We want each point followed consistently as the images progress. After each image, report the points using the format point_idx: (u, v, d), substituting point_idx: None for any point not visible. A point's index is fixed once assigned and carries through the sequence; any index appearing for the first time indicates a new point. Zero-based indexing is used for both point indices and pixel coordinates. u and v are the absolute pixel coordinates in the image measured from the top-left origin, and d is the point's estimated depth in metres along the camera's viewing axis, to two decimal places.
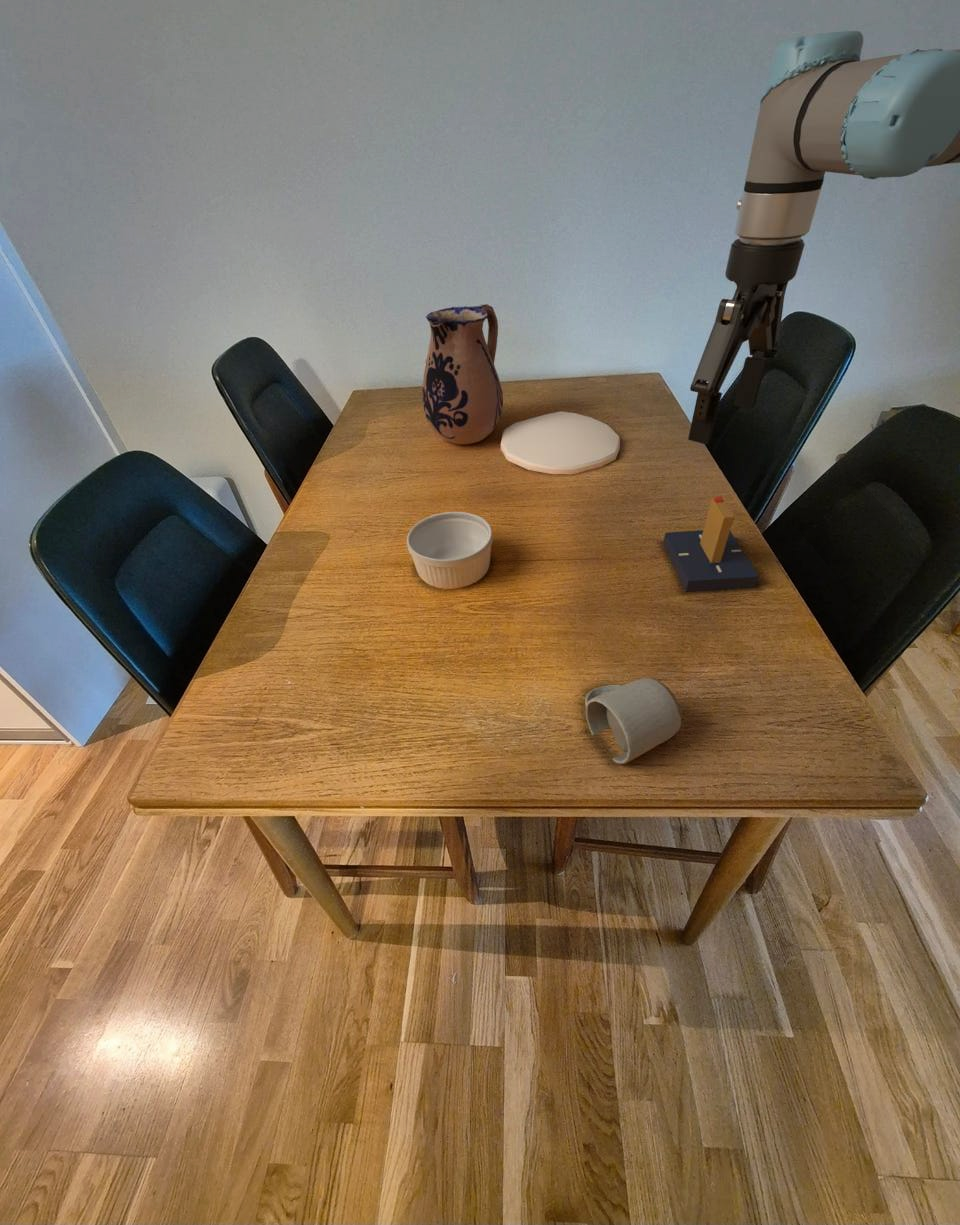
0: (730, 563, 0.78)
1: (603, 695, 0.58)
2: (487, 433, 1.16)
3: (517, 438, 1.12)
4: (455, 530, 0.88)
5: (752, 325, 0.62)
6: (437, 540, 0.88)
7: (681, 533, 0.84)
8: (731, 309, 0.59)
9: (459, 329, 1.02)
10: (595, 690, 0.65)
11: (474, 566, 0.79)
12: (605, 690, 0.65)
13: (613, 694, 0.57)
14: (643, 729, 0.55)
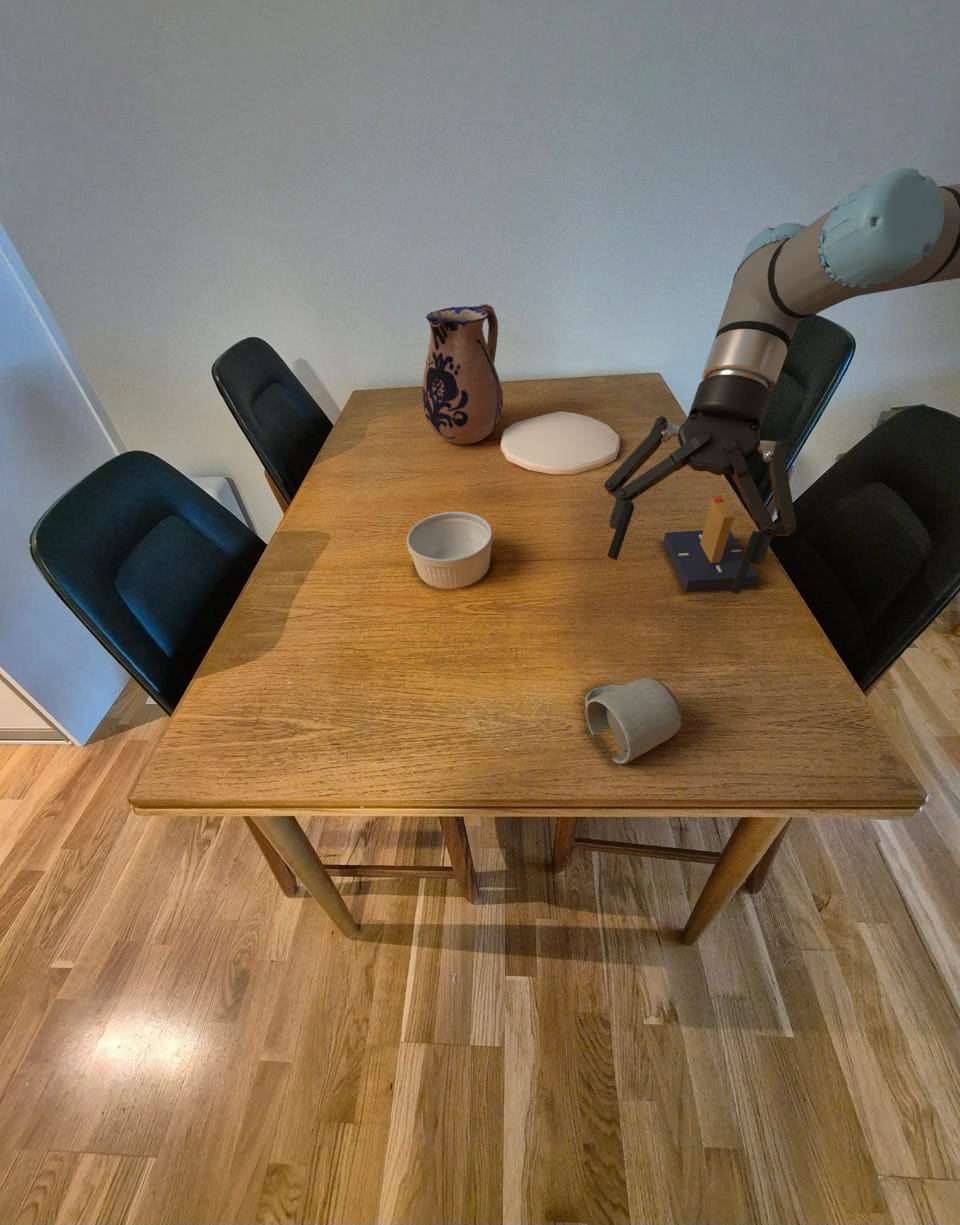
0: (730, 563, 0.78)
1: (603, 695, 0.58)
2: (487, 433, 1.16)
3: (518, 438, 1.12)
4: (455, 530, 0.88)
5: (683, 448, 0.58)
6: (437, 540, 0.88)
7: (681, 533, 0.84)
8: None
9: (459, 329, 1.02)
10: (595, 690, 0.65)
11: (474, 566, 0.79)
12: (605, 690, 0.65)
13: (613, 694, 0.57)
14: (643, 729, 0.55)
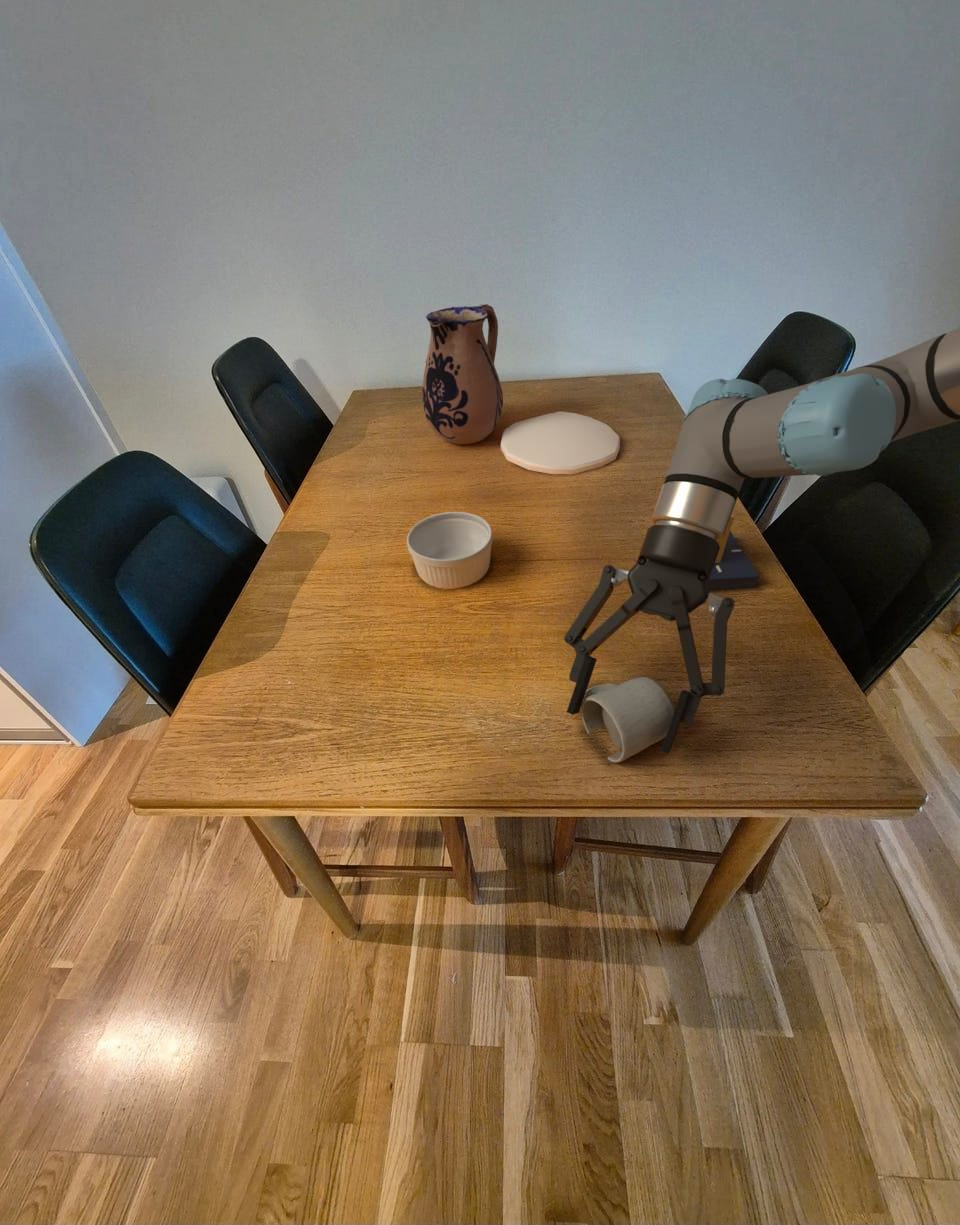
0: (730, 563, 0.78)
1: (598, 694, 0.58)
2: (487, 433, 1.16)
3: (518, 438, 1.12)
4: (455, 530, 0.88)
5: (632, 598, 0.56)
6: (437, 540, 0.88)
7: None
8: None
9: (459, 329, 1.02)
10: (591, 689, 0.65)
11: (474, 566, 0.79)
12: (601, 689, 0.65)
13: (608, 693, 0.57)
14: (638, 728, 0.55)
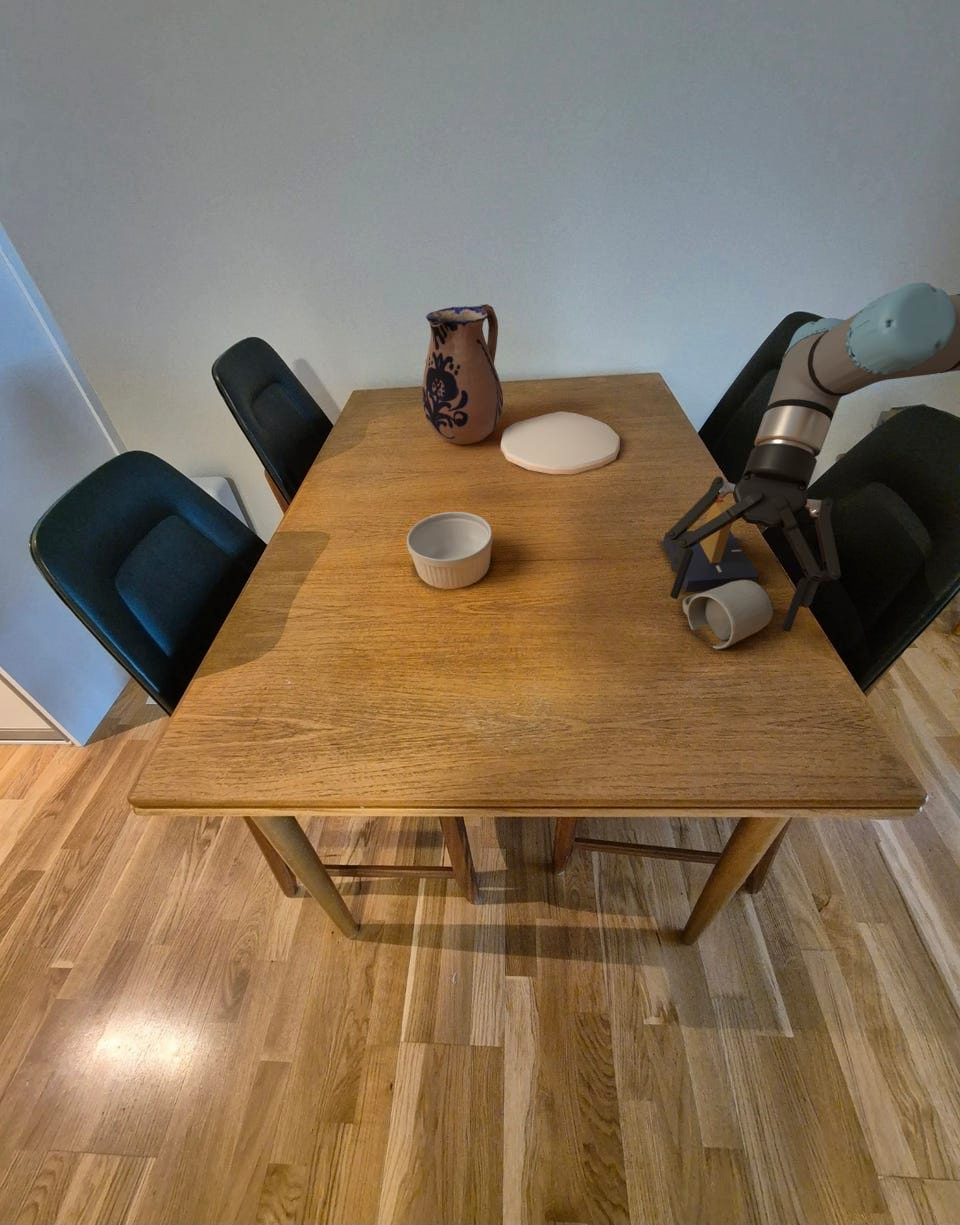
0: (730, 563, 0.78)
1: (706, 591, 0.69)
2: (487, 433, 1.16)
3: (518, 438, 1.12)
4: (455, 530, 0.88)
5: (738, 504, 0.67)
6: (437, 540, 0.88)
7: None
8: None
9: (459, 329, 1.02)
10: (690, 597, 0.76)
11: (474, 566, 0.79)
12: None
13: (715, 590, 0.68)
14: (744, 615, 0.66)
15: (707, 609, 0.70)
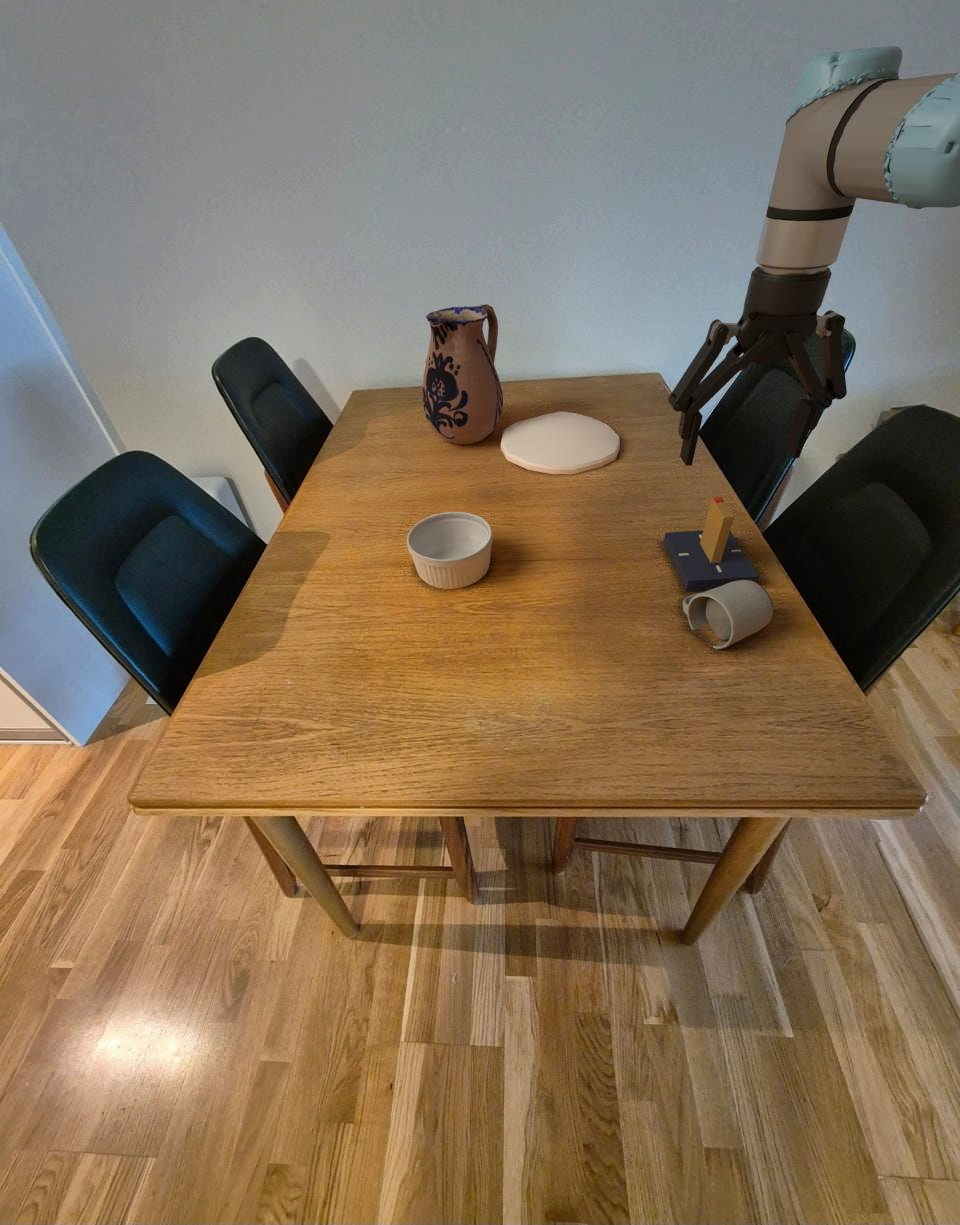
0: (730, 563, 0.78)
1: (706, 591, 0.69)
2: (487, 433, 1.16)
3: (518, 438, 1.12)
4: (455, 530, 0.88)
5: (748, 355, 0.59)
6: (437, 540, 0.88)
7: (681, 533, 0.84)
8: (714, 331, 0.59)
9: (459, 329, 1.02)
10: (690, 597, 0.76)
11: (474, 566, 0.79)
12: None
13: (715, 590, 0.68)
14: (744, 615, 0.66)
15: (707, 609, 0.70)
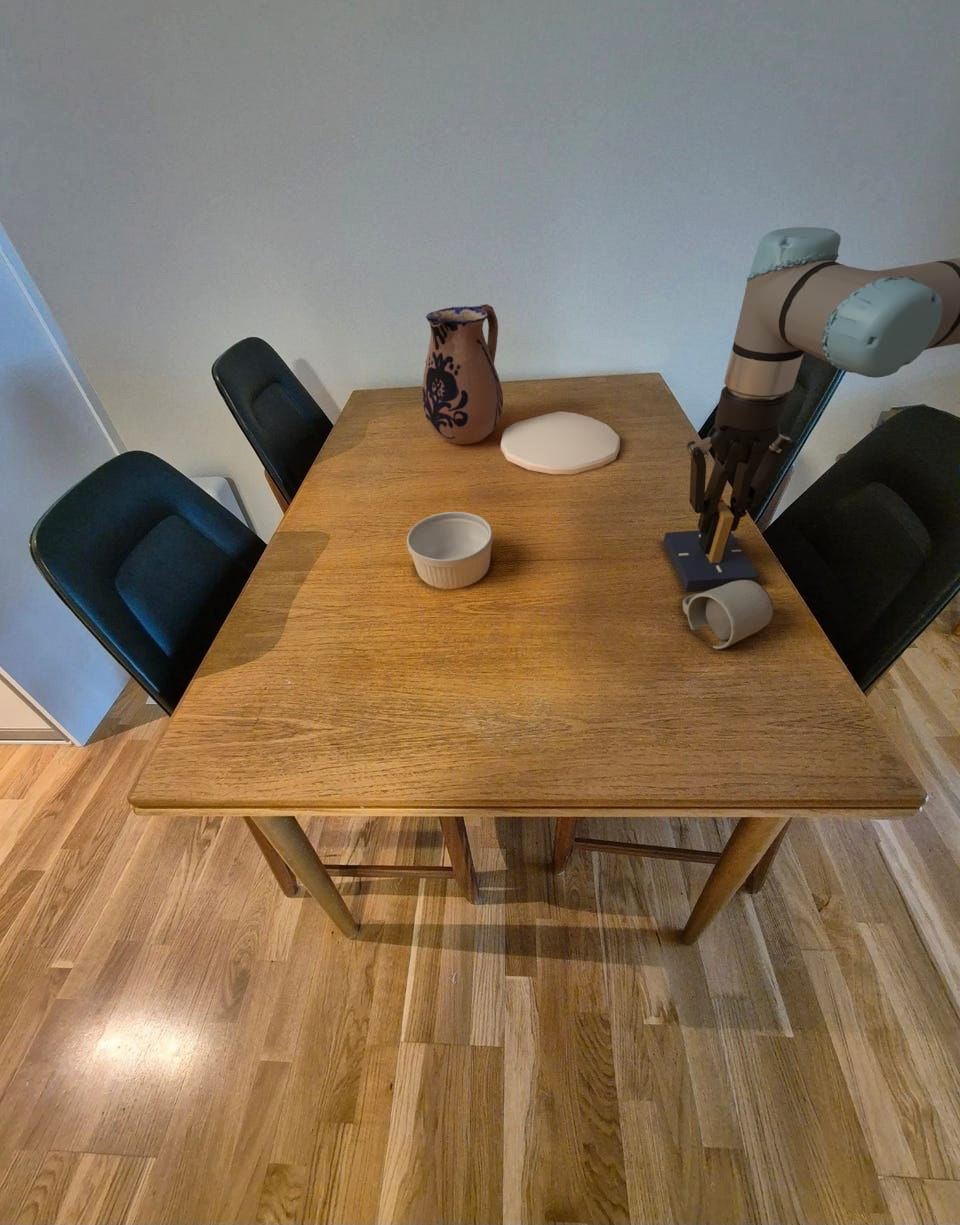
0: (730, 563, 0.78)
1: (706, 591, 0.69)
2: (487, 433, 1.16)
3: (518, 438, 1.12)
4: (455, 530, 0.88)
5: (728, 463, 0.68)
6: (437, 540, 0.88)
7: (681, 533, 0.84)
8: (691, 454, 0.69)
9: (459, 329, 1.02)
10: (690, 597, 0.76)
11: (474, 566, 0.79)
12: None
13: (715, 590, 0.68)
14: (744, 615, 0.66)
15: (707, 609, 0.70)
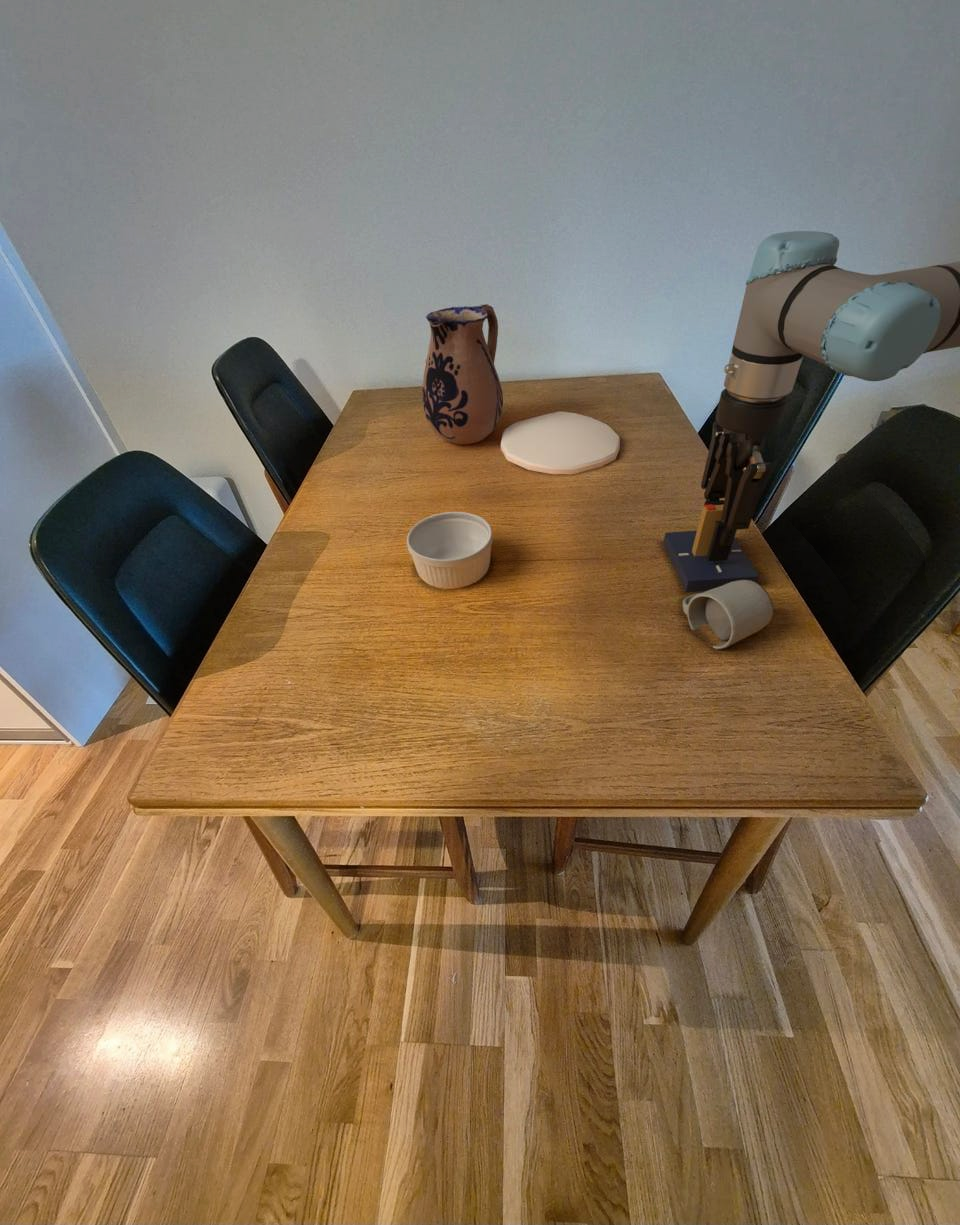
0: (730, 563, 0.78)
1: (706, 591, 0.69)
2: (487, 433, 1.16)
3: (518, 438, 1.12)
4: (455, 530, 0.88)
5: None
6: (437, 540, 0.88)
7: (681, 533, 0.84)
8: (762, 473, 0.64)
9: (459, 329, 1.02)
10: (690, 597, 0.76)
11: (474, 566, 0.79)
12: None
13: (715, 590, 0.68)
14: (744, 615, 0.66)
15: (707, 609, 0.70)
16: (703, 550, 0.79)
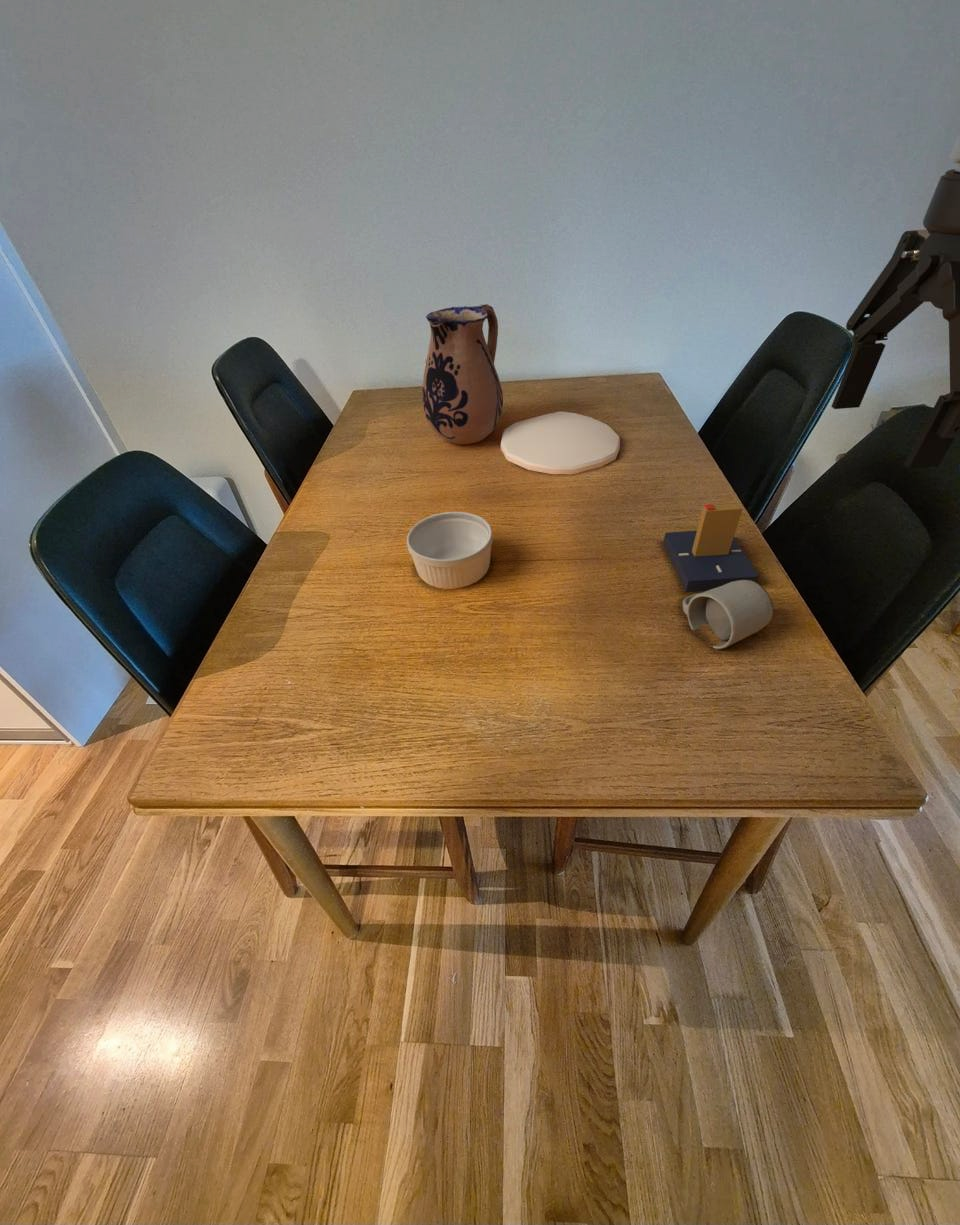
0: (730, 563, 0.78)
1: (706, 591, 0.69)
2: (487, 433, 1.16)
3: (518, 438, 1.12)
4: (455, 530, 0.88)
5: None
6: (437, 540, 0.88)
7: (681, 533, 0.84)
8: None
9: (459, 329, 1.02)
10: (690, 597, 0.76)
11: (474, 566, 0.79)
12: None
13: (715, 590, 0.68)
14: (744, 615, 0.66)
15: (707, 609, 0.70)
16: (703, 550, 0.79)
